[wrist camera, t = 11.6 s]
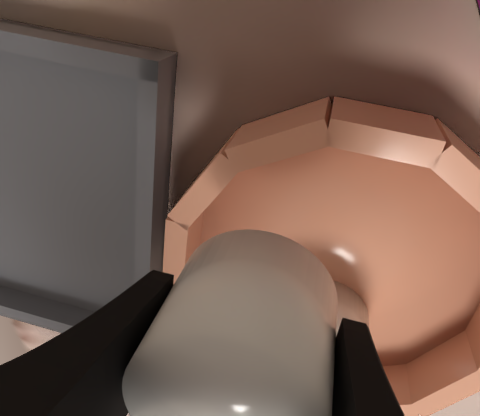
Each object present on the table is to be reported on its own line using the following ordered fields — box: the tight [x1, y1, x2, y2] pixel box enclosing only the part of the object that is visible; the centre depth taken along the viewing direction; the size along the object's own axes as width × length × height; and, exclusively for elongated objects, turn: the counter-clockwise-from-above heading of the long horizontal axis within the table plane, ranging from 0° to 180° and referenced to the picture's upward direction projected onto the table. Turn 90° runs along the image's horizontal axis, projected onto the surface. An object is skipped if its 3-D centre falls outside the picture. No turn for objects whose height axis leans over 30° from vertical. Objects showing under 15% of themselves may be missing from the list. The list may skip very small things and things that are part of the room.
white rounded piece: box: [122, 229, 338, 416], centre depth 11 cm, size 5×5×4 cm
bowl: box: [163, 96, 480, 416], centre depth 20 cm, size 15×15×3 cm
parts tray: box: [0, 19, 177, 333], centre depth 22 cm, size 16×14×2 cm
